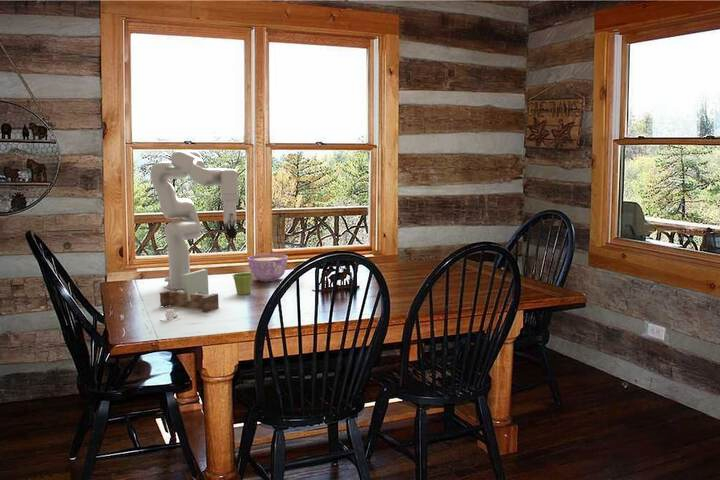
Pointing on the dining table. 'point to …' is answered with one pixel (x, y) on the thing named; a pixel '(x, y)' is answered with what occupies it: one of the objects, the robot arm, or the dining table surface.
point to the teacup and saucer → (171, 314)
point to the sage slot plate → (196, 282)
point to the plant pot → (243, 283)
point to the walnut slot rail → (196, 302)
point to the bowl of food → (267, 266)
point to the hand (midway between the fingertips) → (231, 236)
